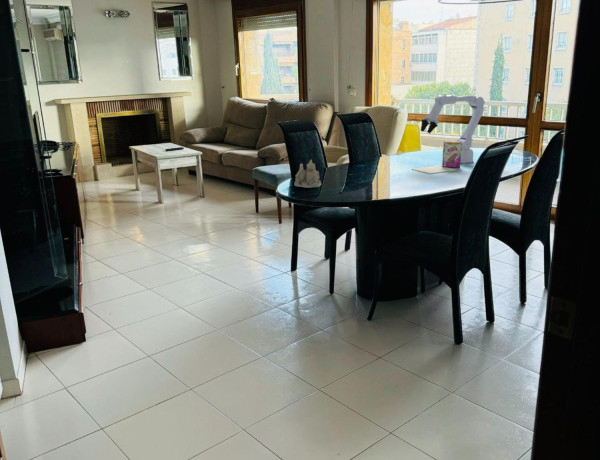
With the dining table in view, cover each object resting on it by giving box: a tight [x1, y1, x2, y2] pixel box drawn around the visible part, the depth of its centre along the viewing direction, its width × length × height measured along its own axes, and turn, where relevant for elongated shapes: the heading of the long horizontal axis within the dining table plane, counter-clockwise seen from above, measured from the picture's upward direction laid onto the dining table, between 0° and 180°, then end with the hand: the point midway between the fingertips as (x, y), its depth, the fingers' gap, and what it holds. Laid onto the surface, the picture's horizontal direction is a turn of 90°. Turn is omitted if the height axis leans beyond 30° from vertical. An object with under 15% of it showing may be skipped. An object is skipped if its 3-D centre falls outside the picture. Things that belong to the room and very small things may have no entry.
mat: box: [411, 164, 457, 175], centre depth 351 cm, size 20×20×1 cm
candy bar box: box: [441, 140, 462, 168], centre depth 353 cm, size 11×5×16 cm, turn 84°
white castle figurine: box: [294, 159, 322, 189], centre depth 326 cm, size 16×16×15 cm
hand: (425, 131), depth 359 cm, fingers open, 7 cm apart
